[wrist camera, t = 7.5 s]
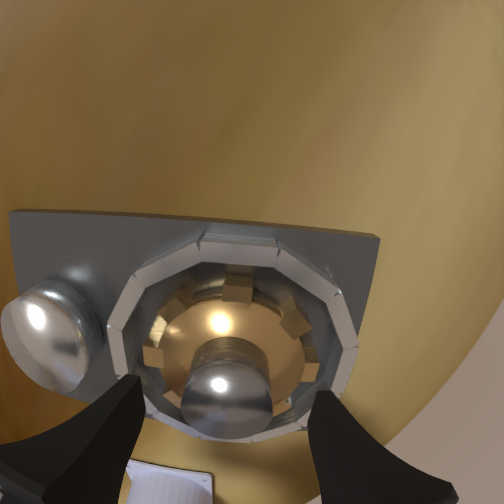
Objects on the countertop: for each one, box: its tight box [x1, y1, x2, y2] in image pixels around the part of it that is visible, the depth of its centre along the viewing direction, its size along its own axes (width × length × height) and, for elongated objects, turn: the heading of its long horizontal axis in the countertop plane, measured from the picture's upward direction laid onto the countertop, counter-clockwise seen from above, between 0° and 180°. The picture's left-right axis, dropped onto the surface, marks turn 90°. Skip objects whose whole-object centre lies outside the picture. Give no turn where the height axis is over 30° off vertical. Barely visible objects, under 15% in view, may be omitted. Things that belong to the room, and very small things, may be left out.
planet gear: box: [143, 272, 320, 440], centre depth 12 cm, size 8×8×4 cm
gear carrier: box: [1, 209, 380, 443], centre depth 13 cm, size 13×20×4 cm, turn 85°
